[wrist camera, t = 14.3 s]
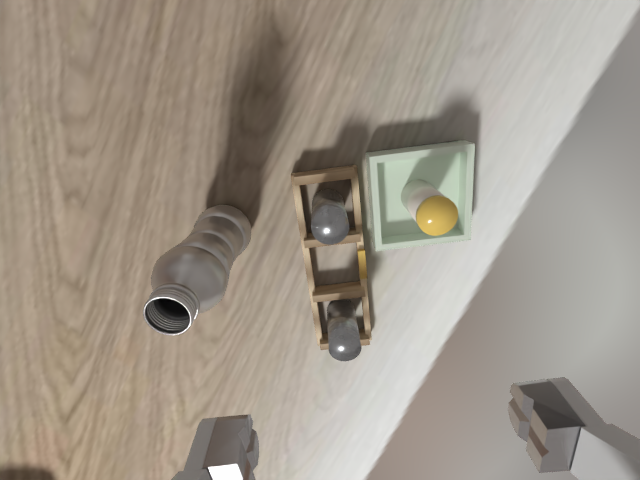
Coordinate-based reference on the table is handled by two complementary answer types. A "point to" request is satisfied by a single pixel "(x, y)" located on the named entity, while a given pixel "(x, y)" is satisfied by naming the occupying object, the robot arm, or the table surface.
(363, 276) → the rack
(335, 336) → the canister
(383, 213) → the tray
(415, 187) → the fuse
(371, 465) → the table surface
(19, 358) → the table surface
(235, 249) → the plastic bottle
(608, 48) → the table surface
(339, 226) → the canister
